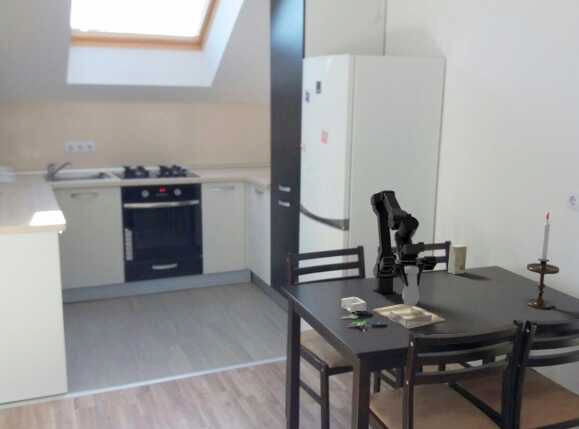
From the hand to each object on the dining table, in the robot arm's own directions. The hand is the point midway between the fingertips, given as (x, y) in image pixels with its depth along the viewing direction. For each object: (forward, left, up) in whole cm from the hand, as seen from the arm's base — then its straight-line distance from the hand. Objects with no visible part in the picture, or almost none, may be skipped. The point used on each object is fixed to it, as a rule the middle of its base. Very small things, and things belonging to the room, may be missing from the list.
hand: (412, 286), depth 197 cm
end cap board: (-6, +3, -13) cm, 14 cm away
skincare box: (-39, +57, -13) cm, 71 cm away
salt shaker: (-1, +1, -7) cm, 7 cm away
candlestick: (+7, +54, -13) cm, 56 cm away
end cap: (-20, -10, -13) cm, 26 cm away
